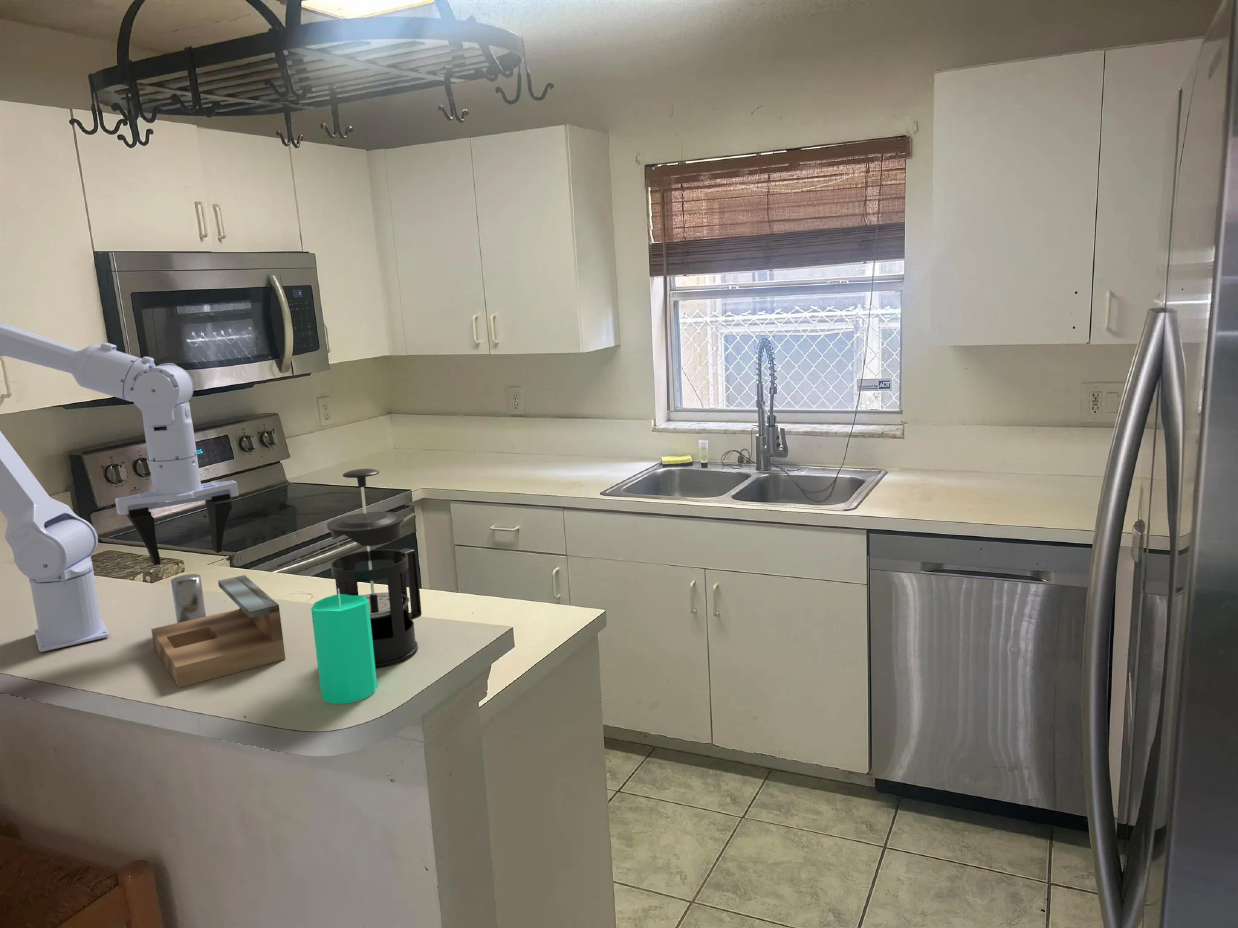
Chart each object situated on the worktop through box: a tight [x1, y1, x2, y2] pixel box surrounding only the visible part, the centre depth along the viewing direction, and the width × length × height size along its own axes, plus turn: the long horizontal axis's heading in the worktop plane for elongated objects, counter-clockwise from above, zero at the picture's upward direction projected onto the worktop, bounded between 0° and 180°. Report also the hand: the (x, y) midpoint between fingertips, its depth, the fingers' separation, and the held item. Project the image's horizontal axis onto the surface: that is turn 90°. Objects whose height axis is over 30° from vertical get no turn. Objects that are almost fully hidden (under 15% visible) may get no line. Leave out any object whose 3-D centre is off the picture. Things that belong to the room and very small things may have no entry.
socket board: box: [151, 574, 286, 688], centre depth 112 cm, size 16×12×7 cm
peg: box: [170, 573, 207, 623], centre depth 121 cm, size 4×4×7 cm
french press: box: [326, 468, 422, 669], centre depth 108 cm, size 12×9×23 cm
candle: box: [310, 589, 378, 705], centre depth 98 cm, size 6×6×12 cm
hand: (187, 557), depth 120 cm, fingers open, 7 cm apart
